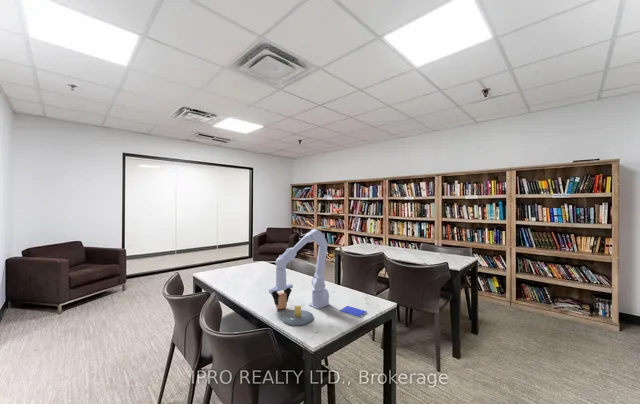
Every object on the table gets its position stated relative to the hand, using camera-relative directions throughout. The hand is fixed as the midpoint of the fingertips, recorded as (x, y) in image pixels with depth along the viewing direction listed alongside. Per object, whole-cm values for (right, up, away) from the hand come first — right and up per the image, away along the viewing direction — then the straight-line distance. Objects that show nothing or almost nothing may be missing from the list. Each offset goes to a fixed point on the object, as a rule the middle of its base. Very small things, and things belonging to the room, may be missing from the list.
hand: (281, 303), depth 145 cm
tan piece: (0, -2, 0) cm, 2 cm away
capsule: (+10, -2, -12) cm, 16 cm away
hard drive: (+40, -4, -5) cm, 40 cm away
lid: (+10, -3, -12) cm, 16 cm away
